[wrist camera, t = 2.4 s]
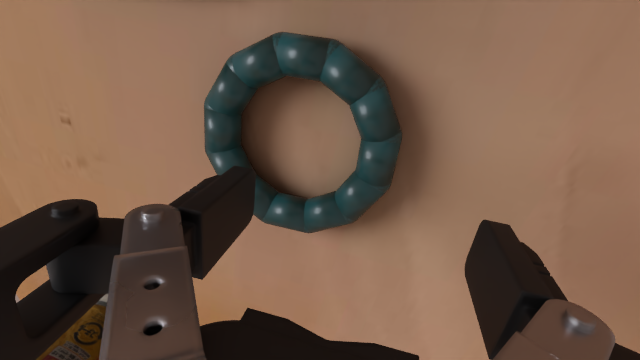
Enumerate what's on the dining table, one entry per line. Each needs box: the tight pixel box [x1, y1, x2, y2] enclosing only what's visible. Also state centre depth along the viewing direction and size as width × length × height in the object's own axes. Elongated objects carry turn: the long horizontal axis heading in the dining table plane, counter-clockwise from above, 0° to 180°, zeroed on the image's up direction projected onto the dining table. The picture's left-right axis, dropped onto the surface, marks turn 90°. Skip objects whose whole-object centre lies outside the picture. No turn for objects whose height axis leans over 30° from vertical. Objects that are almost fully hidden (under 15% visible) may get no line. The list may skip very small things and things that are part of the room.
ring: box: [204, 32, 402, 233], centre depth 18 cm, size 11×11×2 cm
